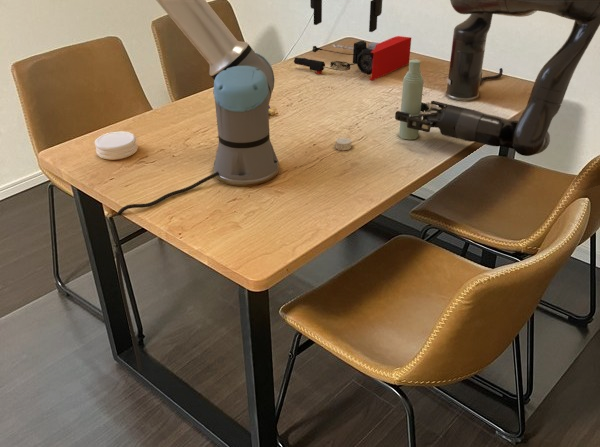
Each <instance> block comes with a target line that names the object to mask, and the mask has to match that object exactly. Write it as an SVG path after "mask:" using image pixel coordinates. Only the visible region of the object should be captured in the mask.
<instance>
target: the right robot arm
mask: <svg viewBox="0 0 600 447" xmlns="http://www.w3.org/2000/svg"><path fill="white" fill-rule="evenodd" d="M449 1H450V5H451V7H452V9H453V10H454V11H455V12H456V13H458V14H460V15H469V16H468V17H467V18H466V19H465V20H464V21H462V22H460V23H459V24H457V25H456V26H455V27H454V28H453V32H452V33H453V35H452V43H451V52H450V60H449V67H448V68H449V69H448V76H447V77H446V83H447V85H446V91H445V96H446V97H447V98H449V99H451V100H454V101H461V102H469V101H474V100H476V99H478V98H479V96H480V95H479V94H480V93H479V92H480V86H481V85H482V83H483V82H484V81H487V80H496V79H500V78H501V77H502V75H503V72H504V71H503V68H502V67H500V68H499V72H498V74H497V75H489V76H483V71H482V70H483V65H484V58H485V50H486V45H487V38H488V33H489V31H490V29H491V26H492V21H493V15H499V16H506V17H516V18H517V17H519V18H521V17H529V16H532V15H534V14H535V13H537V12H543V13H548V14H552V15H556V16H559V17H561V18H565V19H568V20H572V21H574V22H573V26H572V28H571V31H570V33H569V35H568V37H567V39H566V40H565V41H564V43H563V44H562V45H561V47H560V48H559V49H558V50H557V51H556V52H555V53H554V54H553V55H552V56H551V57H550V58H549V60H547V61H546V62H545V63H544V65H543V66H542V67H541V69H540V70H539V72H538V74H537V76H536V78H535V80H534V82H533V86H532V89H531V91H530V93H529V94H530V95H529V98H528V100H527V103H526V106H525V108H524V109H523V112H522V113H521V115H520V117H519V120H513V119H508V118H505V117H501V116H499V115H498V116H497V115H494V114H489V113H484V112H481V111H479V110H476V109H471V108H467V107H463V106H457V105H453V104H449V103H444V102H440V101H436V100H431V101H430V102H427V101H426V102H421V112H419V113H418V114H409V113H405V112H401V110H397V111H396V112H395V113H394V119H395V120H396V121H399V122H400V121H403V122H407V128H411V129H415V130H419V131H421V132H425V133H430V132H431V128H436V129H437V128H438V130H439V132H440V134H441V135H442V136H446V137H449V138H454V139H457V140H461V141H465V142H472V143H473V142H474V143H478V144H482V145H487V146H490V147H503V148H504V147H505V148H508V149H512V150H514V151H515V152H516V153H517V154H518V155H520V156H523V157H531V156H535V155H538V154H541V153H542V152H544V151H546V149H547V148H548V147H549V145H550V143H551V135H550V132H549V128H550V125H551V123H552V121H553V119H554V117H556V115H557V114H559V111H560V108H561V107H562V104H563V101H564V98H565V96H566V93H567V90H568V88H569V84H570V83H571V80H572V78H573V75H574V73H575V71H576V69H577V67H578V66H579V63H580V62H581V60H582V58H583V56H584V55H585V53H586V50H587V49H588V48H589V46H590V44H591V42H592V40H593V39H594V36H595V34H596V33H597V31H598V29H599V28H600V0H449ZM415 125H416V126H415Z"/></svg>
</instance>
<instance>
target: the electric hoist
mask: <svg viewBox="0 0 600 447" xmlns="http://www.w3.org/2000/svg"><path fill="white" fill-rule="evenodd" d="M332 47H333V48H338V49H339V48H341V49H343V50H347V49H349V50H352V51H353V52H352V53H344V52H338V51H333V50H328V49H323V48H320V47H318V46H316V45H312V49H311V51H312V52H313V53H316V52H318V51H325V52H330V53H337V54H342V55H346V56H347V55H348V56H352V63H351V64H350V63H349V62H347V61H340V60H334V61H330V66H329V67H328V66H326V63H325V62H324V61H322V60H316V59H311V58H306V57H294V59H293V63H294V64H295V65H298V66H303V67H308V68H309V70H311V71H314V72H315V73H316V74H319V75H321V74H323V71H324V70H325V69H330V70H334V71H340V72H341V71H344V72H345V71H350V70H351V66H354V65H357V68H358V69H359V71H360V72H361V73H363V74H365V75H368V76H370V78H369V79H368V80H369V81H371V82H373V81H375V80H377V79H379V78H381V77H384V76H385V75H387V74H390V73H392V72H394V71H396V70H398V69H401V68H402V67H405V66H407V65H409V61H410V57H411V47H412V37H409V36H403V35H402V36H401V35H397V36H393V37H391V38H388V39H386V40H384V41H382V42H375V41H371V42H370V43H369V44H368V45H367V41H365V40H359V41H357V42H354V43H353V46H349V45H345V44H344V45H341V44H332Z"/></svg>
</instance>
